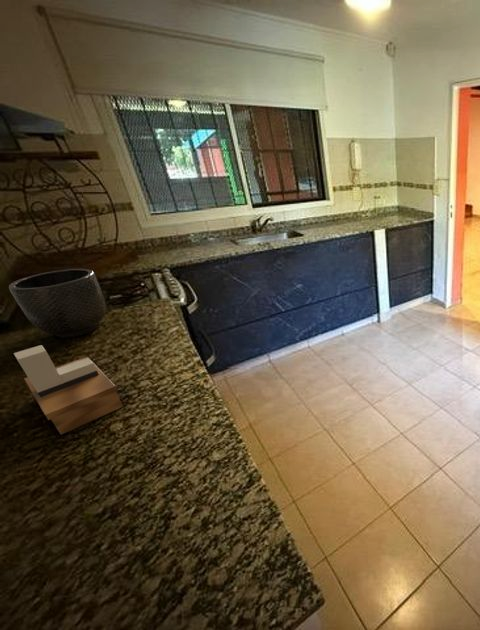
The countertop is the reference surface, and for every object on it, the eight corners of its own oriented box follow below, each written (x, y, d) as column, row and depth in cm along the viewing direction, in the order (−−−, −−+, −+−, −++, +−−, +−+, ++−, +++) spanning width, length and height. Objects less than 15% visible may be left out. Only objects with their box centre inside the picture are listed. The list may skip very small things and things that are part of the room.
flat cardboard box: (58, 436, 74) (45, 414, 72) (35, 397, 86) (23, 378, 83) (125, 405, 83) (115, 385, 80) (96, 374, 95) (87, 356, 92)
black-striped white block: (40, 397, 77) (17, 359, 72) (35, 389, 79) (13, 353, 75) (99, 374, 84) (81, 339, 80) (93, 368, 87) (75, 334, 82)
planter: (117, 313, 130) (96, 265, 122) (113, 333, 116) (89, 280, 107) (46, 327, 120) (18, 275, 112) (31, 351, 105) (-2, 294, 97)
